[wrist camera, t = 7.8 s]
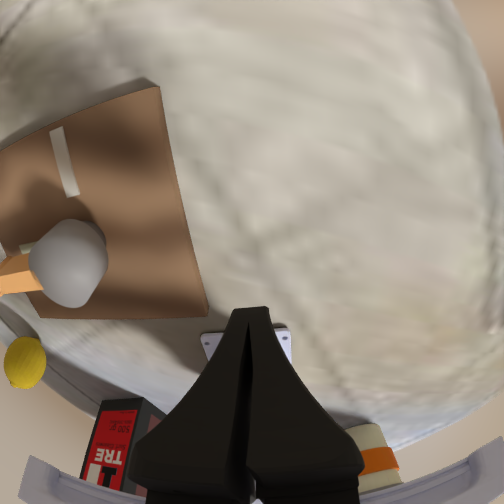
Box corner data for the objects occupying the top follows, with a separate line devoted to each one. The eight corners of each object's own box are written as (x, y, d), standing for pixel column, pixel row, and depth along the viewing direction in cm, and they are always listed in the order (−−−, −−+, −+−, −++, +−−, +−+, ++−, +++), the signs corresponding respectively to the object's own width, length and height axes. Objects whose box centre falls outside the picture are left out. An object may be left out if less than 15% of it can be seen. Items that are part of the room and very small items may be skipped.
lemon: (39, 324, 26) (9, 374, 19) (62, 355, 29) (39, 404, 22) (15, 323, 26) (-13, 367, 19) (37, 352, 29) (14, 396, 22)
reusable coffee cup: (305, 445, 41) (312, 519, 28) (355, 416, 35) (372, 504, 22) (355, 447, 44) (365, 511, 31) (402, 420, 38) (421, 491, 25)
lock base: (208, 306, 23) (204, 329, 21) (45, 310, 25) (34, 327, 22) (159, 86, 15) (144, 86, 12) (-17, 163, 16) (-36, 173, 14)
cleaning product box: (102, 400, 34) (71, 514, 17) (143, 397, 32) (115, 532, 15) (166, 443, 42) (153, 536, 25) (207, 442, 40) (199, 545, 23)
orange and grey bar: (91, 211, 16) (67, 234, 13) (119, 277, 18) (102, 305, 16) (-5, 242, 17) (-25, 261, 14) (20, 289, 19) (4, 311, 17)
